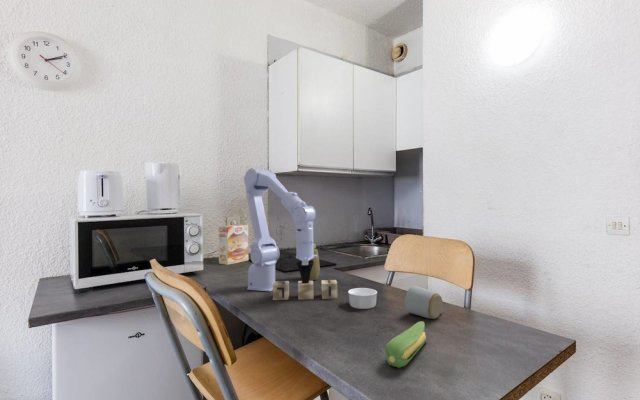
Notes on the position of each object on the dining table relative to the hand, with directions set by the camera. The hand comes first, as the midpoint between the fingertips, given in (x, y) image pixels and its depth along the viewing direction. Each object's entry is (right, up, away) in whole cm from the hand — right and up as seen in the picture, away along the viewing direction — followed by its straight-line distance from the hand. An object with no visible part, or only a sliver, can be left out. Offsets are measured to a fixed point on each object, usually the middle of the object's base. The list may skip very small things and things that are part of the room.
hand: (305, 282), depth 112 cm
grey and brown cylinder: (+34, -5, -18) cm, 39 cm away
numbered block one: (+8, -5, +1) cm, 9 cm away
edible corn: (+24, -5, -41) cm, 48 cm away
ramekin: (+18, -5, -9) cm, 21 cm away
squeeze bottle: (+1, -5, +25) cm, 26 cm away
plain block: (0, -5, 0) cm, 5 cm away
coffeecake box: (-41, -5, +65) cm, 77 cm away
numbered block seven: (-8, -5, 0) cm, 10 cm away
